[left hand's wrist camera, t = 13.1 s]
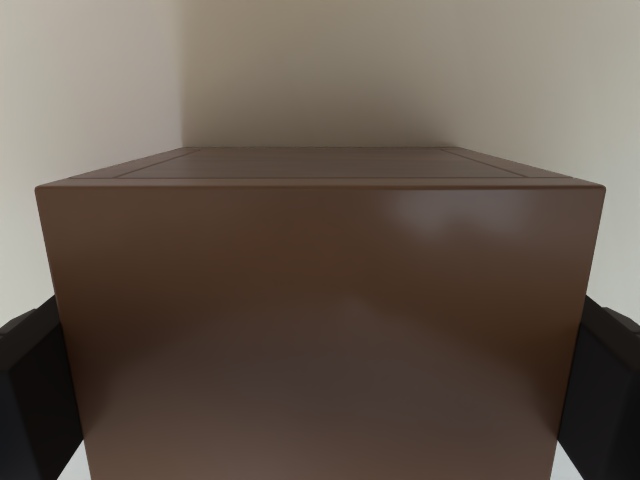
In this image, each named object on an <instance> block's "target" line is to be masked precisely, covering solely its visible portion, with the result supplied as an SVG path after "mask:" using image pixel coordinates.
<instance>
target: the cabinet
mask: <svg viewBox="0 0 640 480" xmlns="http://www.w3.org/2000/svg"><path fill="white" fill-rule="evenodd" d="M605 193H606V187H605V186H603V185H600V184H597V183H593V182H589V181H585V180H581V179H577V178H573V177H570V176H566V175H562V174H559V173H555V172H551V171H547V170H543V169H539V168H536V167H532V166H528V165H524V164H520V163H516V162H513V161H509V160H505V159H501V158H497V157H494V156H490V155H486V154H482V153H478V152H474V151H471V150H467V149H463V148H459V147H258V148H179V149H175V150H171V151H168V152H164V153H160V154H156V155H152V156H149V157H145V158H141V159H137V160H133V161H130V162H126V163H122V164H118V165H114V166H111V167H107V168H103V169H99V170H96V171H92V172H88V173H84V174H80V175H77V176H73V177H69V178H67V179H62V180H58V181H54V182H50V183H47V184H43V185H39V186H37V187H35V196H36V201H37V206H38V211H39V216H40V221H41V226H42V231H43V236H44V241H45V246H46V252H47V257H48V262H49V267H50V272H51V277H52V282H53V287H54V292H55V297H56V302H57V307H58V313H59V318H60V323H61V328H62V333H63V338H64V343H65V348H66V353H67V358H68V363H69V368H70V374H71V379H72V384H73V389H74V394H75V399H76V404H77V409H78V414H79V419H80V424H81V429H82V435H83V440H84V445H85V450H86V455H87V460H88V465H89V470H90V475H91V480H550V476H551V471H552V466H553V461H554V456H555V451H556V445H557V440H558V435H559V430H560V425H561V420H562V415H563V409H564V404H565V399H566V394H567V389H568V384H569V378H570V373H571V368H572V363H573V358H574V353H575V348H576V342H577V337H578V332H579V327H580V322H581V317H582V311H583V306H584V301H585V296H586V291H587V286H588V281H589V275H590V270H591V265H592V260H593V255H594V250H595V244H596V239H597V234H598V229H599V224H600V219H601V214H602V208H603V203H604V198H605Z"/></svg>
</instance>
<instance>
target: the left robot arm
mask: <svg viewBox="0 0 640 480" xmlns="http://www.w3.org/2000/svg"><path fill="white" fill-rule="evenodd" d="M82 441H83V435H82V429H81V424H80V419H79V414H78V409H77V404H76V399H75V394H74V389H73V384H72V379H71V374H70V368H69V363H68V358H67V353H66V348H65V343H64V338H63V333H62V328H61V323H60V318H59V313H58V307H57V302H56V297H55V295H53V296H52V297H51V298H50V299H49V300H47V301H46V302H45V303H44V304H42V305H41V306H40V307H39V308H37V309H33V310H30V311H28V312H26V313H24V314H22V315H20V316H18V317H16V318H14V319H12V320H10V321H9V322H8V323H6V324H5V325H4V326H2V327H1V328H0V480H57V479H58V477H59V476H60V474H61V472H62V471H63V469H64V468H65V466H66V465H67V463H68V462H69V460H70V459H71V457H72V456H73V454H74V453H75V451H76V450H77V448H78V447H79V445H80V444H81V442H82ZM558 441H559V443H560V444H561V446H562V447H563V449H564V450H565V452H566V454H567V455H568V457H569V458H570V460H571V461H572V463H573V464H574V466H575V467H576V469H577V470H578V472H579V473H580V475H581V476H582V478H583V479H584V480H640V326H639V325H638V324H637V323H635V322H634V321H633V320H632V319H630V318H628V317H626V316H624V315H622V314H620V313H618V312H616V311H614V310H611V309H609V308H607V307H601V306H599V305H598V304H597V303H596V302H595V301H593V300H592V299H591V298H590V297H588V296H587V295H586V296H585V301H584V306H583V311H582V317H581V322H580V327H579V332H578V337H577V342H576V348H575V353H574V358H573V363H572V368H571V373H570V378H569V384H568V389H567V394H566V399H565V404H564V409H563V415H562V420H561V425H560V430H559V435H558Z"/></svg>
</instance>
